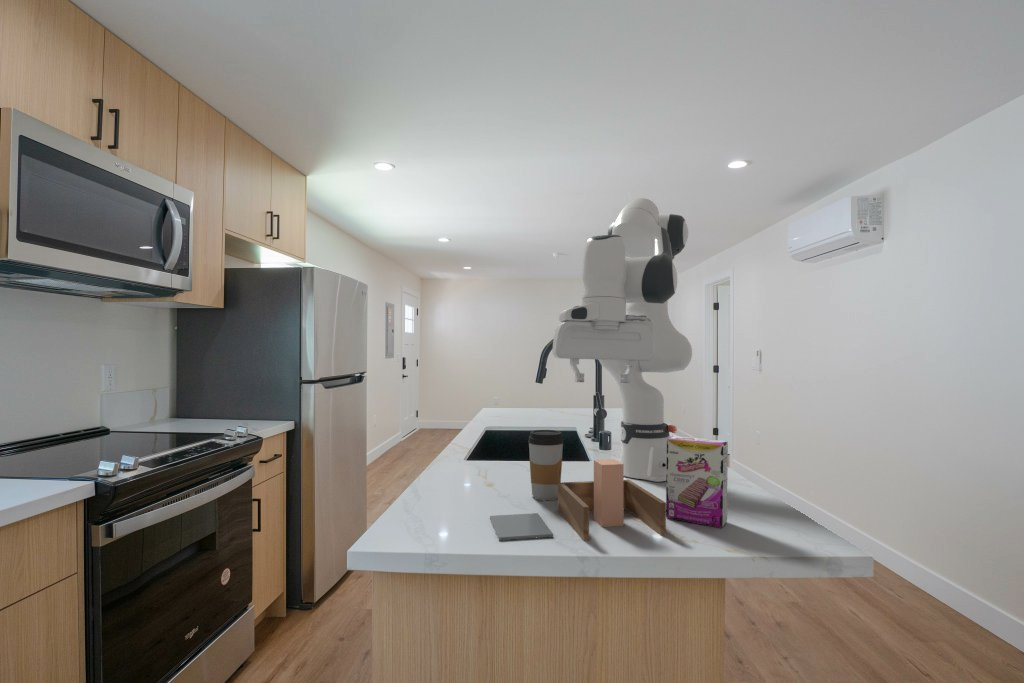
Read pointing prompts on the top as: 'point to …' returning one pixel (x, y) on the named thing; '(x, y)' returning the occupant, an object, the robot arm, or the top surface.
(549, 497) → the coffee cup
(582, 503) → the walnut bay
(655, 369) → the robot arm
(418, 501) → the top surface
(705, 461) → the candy bar box
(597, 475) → the terracotta block
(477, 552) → the top surface
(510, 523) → the slate coaster
